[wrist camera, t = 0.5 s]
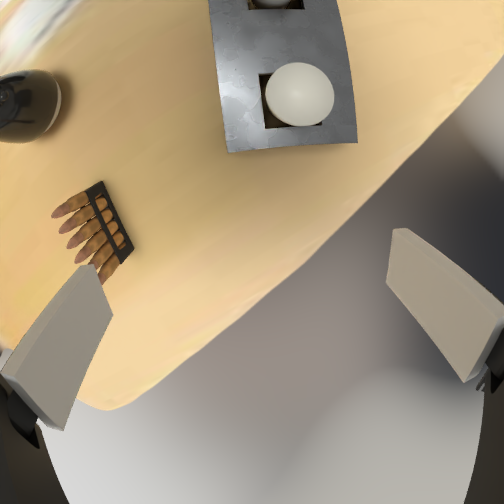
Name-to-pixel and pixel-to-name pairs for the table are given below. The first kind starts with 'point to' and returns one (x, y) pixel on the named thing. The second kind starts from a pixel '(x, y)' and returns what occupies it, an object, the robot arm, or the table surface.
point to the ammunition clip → (106, 239)
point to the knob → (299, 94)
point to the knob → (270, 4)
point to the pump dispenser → (27, 105)
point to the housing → (272, 58)
